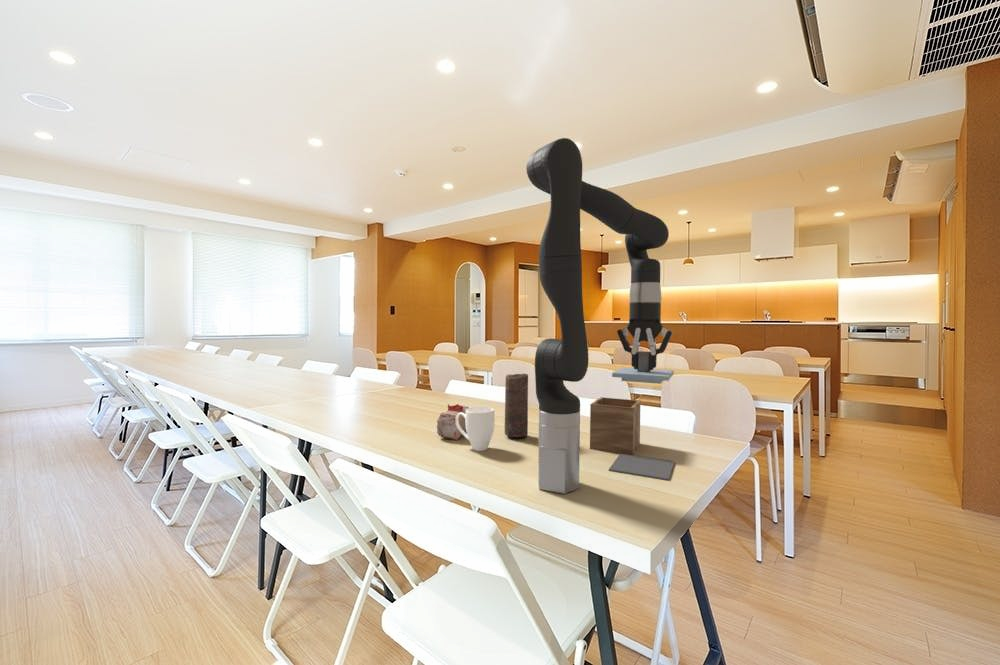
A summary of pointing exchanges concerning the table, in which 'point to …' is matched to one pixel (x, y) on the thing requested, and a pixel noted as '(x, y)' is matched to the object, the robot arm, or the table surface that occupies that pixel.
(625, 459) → the mat
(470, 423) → the mug
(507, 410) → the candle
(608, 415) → the box
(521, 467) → the table surface
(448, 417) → the grey speckled jug shape
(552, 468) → the robot arm
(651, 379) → the lid
